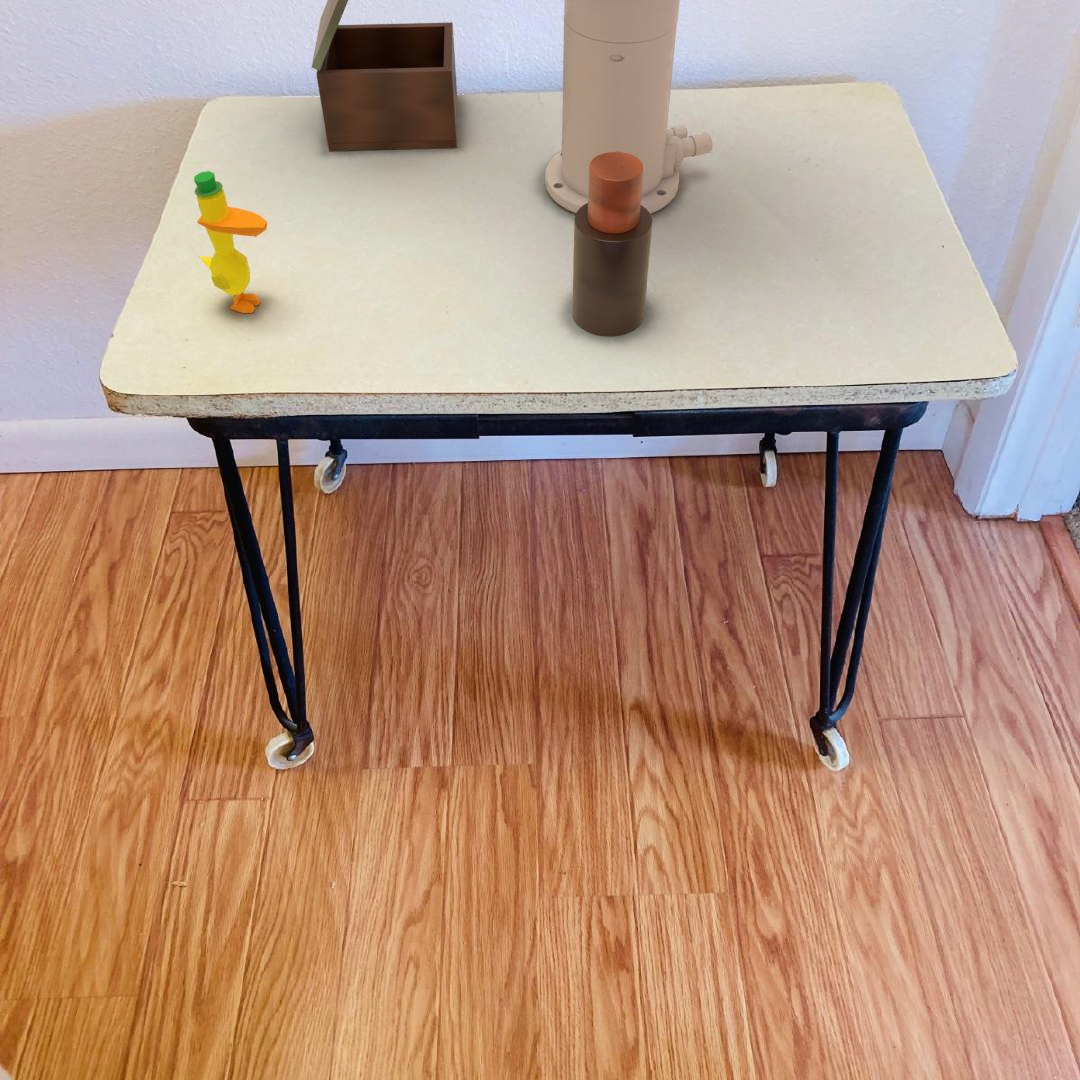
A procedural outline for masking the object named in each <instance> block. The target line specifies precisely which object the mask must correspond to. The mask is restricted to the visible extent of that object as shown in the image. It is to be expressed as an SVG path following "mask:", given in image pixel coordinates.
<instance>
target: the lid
mask: <svg viewBox="0 0 1080 1080" xmlns="http://www.w3.org/2000/svg"><path fill="white" fill-rule="evenodd" d="M348 2H349V0H327V1H326V3H325V6H324V8H323V11H322V14H321V16H320V19H319V25H318V30H317V37H316V41H315V47H314V52H313V57H312V61H311V62H312V63H311V68H312V69H314V70H316V71H317V70H318V71H320V69H321V66H322V64H323V62H324V59H325V57H326V54H327V52H328V49H329V47H330V44H331V42H332V39H333V37H334V34H335V32H336V29H337V27H338V25H340V22H341V19H342V17H343V15H344V12H345V9H346V7H347V5H348Z"/></svg>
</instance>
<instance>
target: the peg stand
mask: <svg viewBox="0 0 1080 1080" xmlns="http://www.w3.org/2000/svg"><path fill="white" fill-rule="evenodd" d="M587 217H588V203H586V204H584V205H583V206H582V207H580V208H579V210H578V211H577V212H576V213H574V220H573V221H574V222H573V225H574V226H573V228H574V229H573V257H572V258H573V260H572V263H573V264H572V266H573V267H572V296H571V297H572V299H571V316H572V318H573V319H574V322H575V323H576V325H578V327H579V328H581V329H583V330H584V331H586V332H588V333H591V334H593V335H598V336H605V337H616V336H622V335H625V334H628V333H630V332H632V331H634V330H636V329H637V328H639V326H640V325H641V324H642V322H643V320H644V318H645V310H646V299H647V287H648V275H649V265H650V254H651V244H652V243H651V241H652V231H653V217H652V215H651V214H650V213H649V211H648V210H647V209H646V208H645V207H643V206H642V205H641V207H640V220H639V223H638V225H637V226H636V227H635V228H634V229H632V230H630V231H628V232H624V233H617V234H611V233H605V232H601V231H598V230H596V229H595V228H593V227H592V226H591V225H590V224H589V222H588V218H587Z"/></svg>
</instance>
